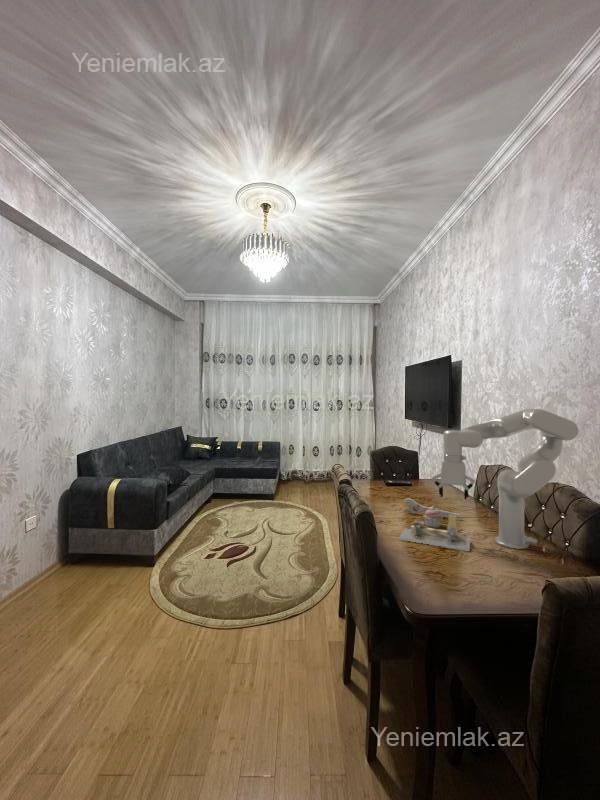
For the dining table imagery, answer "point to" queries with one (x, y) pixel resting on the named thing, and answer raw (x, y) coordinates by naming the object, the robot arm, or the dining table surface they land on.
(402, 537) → the bolt plate
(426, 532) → the sliding bolt bar
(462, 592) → the dining table surface
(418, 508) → the wrench
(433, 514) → the cupcake
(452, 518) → the block
